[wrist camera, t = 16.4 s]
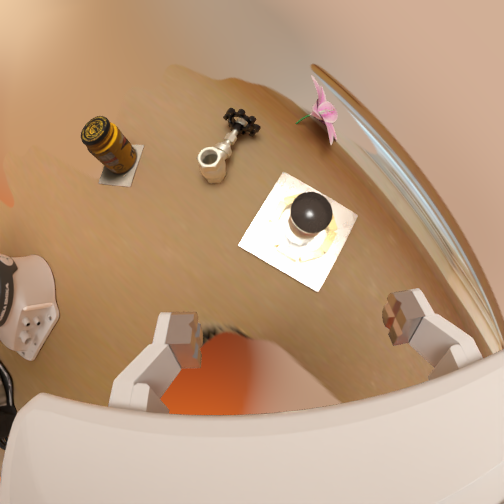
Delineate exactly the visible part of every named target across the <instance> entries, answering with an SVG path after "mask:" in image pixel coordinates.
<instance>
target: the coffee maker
mask: <svg viewBox="0 0 504 504" xmlns="http://www.w3.org/2000/svg"><path fill="white" fill-rule="evenodd" d="M15 417H16V408H15V407H14V405H13V391H12V381H11V378H10V376H9V374H8V372H7V371H6V369H5V368H4V367H3V365H2V364H1V362H0V439H2V441H3V442H4V443H5V445H7V441H8V438H7V437H8V436H9V434H10V430H11V427H12V424H13V421H14V419H15ZM3 438H5V440H6V442H5V440H4V439H3ZM5 445H4V444H3V443H2V442H1V440H0V447H1V448H2V449H4V450H6V446H5Z"/></svg>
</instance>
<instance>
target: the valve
mask: <svg viewBox="0 0 504 504" xmlns="http://www.w3.org/2000/svg"><path fill="white" fill-rule="evenodd" d="M234 117H240V118H238V119H237V121H236V120H235V119H234ZM223 118H224V119H225V120H227V119H228V123H229V127H230V128H231V131H232V132H231V133H227V134H226V136H225V137H224V142H221V143H216V145H215V146H214V147H206V148H203V149H202V150H201V152H200V153H199V155H198V156H197V160H198V163H199V170H200V172H201V174H202V175H203V176H204V177H205V178H206V179H207V181H208V182H209V184H211V183H221V182H222V180H223V179H224V177H225V175H226V174H227V173H226V170H225V169H226V163H225V159H226V158H229V157H230V155H231V154H232V150H231V146H230V145H233V144H234V143H235V141H236V140H237V137H236V135H240V134H242V135H244V133H245V132H250V134H249V135H250V136H252V137H253V136H254V135H255V133H256V132H258V131H259V130H260V128H261V127H260V126H259V125H257V124H254V122H255V121H256V118H255V117H254V116H250V117H248V116H246V115H245V111H244V110H243V109H239V111H238V112H235V110H234V109H233V108H229V109H228V111H227V112H226V114H225V116H224V117H223ZM246 121H247V122H248V124H247V122H246ZM254 129H255V130H254Z"/></svg>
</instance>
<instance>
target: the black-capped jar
mask: <svg viewBox="0 0 504 504" xmlns="http://www.w3.org/2000/svg"><path fill="white" fill-rule="evenodd" d="M332 215H333V212H332V207H331V205H330V203H329V201H328V200H327V199H326V198H325V197H324V196H323V195H321V194H319V193H316V192H305V193H302V194H300V195H298V196H297V197H296V198H295V199H294V201H293V203H292V205H291V209H290V215H289V218H288V220H287V223H286V226H285V232H286V236H287V237H288V239H289V240H290V241H291V242H292V243H294V244H297V245H306V244H308V243H310V242H311V241H312V240H313V239H314V238H315V237H316V236H317V235H318V234H319V233H320V232H321V231H323V230H324V229H326V228H327V227H328V225H329V224H330V222H331V220H332Z"/></svg>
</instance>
